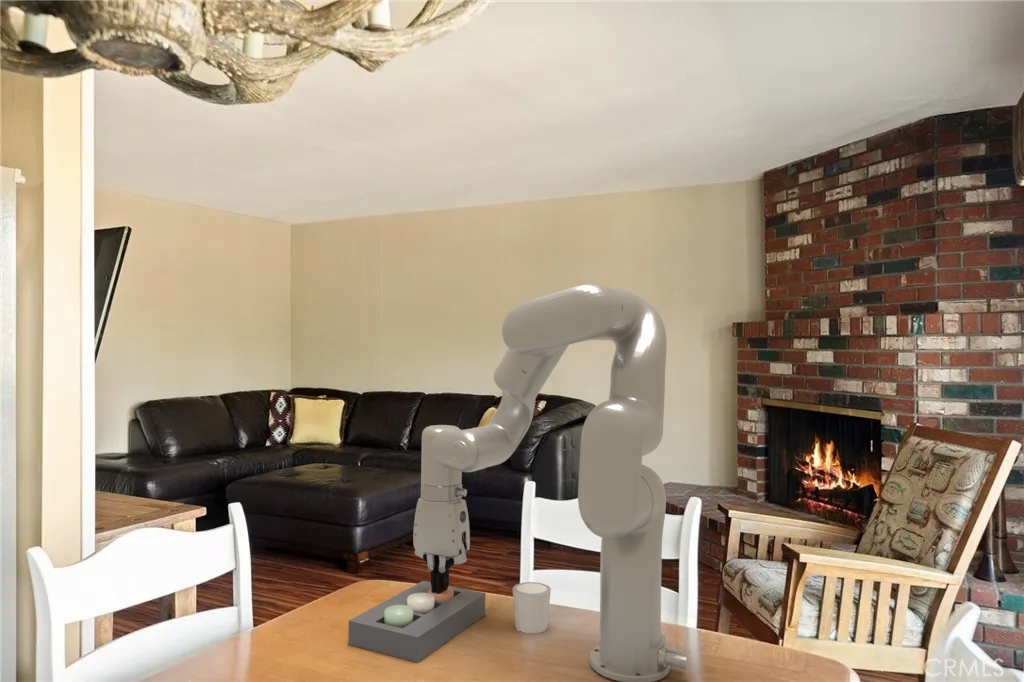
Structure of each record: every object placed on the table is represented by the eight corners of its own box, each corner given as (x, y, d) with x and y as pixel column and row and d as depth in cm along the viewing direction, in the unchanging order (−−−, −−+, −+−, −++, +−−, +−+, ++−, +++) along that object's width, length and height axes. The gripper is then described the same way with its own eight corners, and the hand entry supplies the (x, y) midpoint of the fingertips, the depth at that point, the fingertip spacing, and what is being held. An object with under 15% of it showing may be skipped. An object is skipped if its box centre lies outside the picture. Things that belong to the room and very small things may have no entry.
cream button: (439, 612, 123) (439, 595, 123) (424, 622, 118) (424, 604, 118) (417, 607, 125) (417, 591, 125) (401, 616, 120) (401, 599, 120)
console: (485, 614, 128) (485, 593, 128) (417, 662, 108) (417, 637, 109) (422, 601, 134) (423, 580, 134) (348, 644, 115) (348, 620, 115)
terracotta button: (458, 605, 128) (458, 589, 128) (444, 614, 124) (444, 597, 124) (436, 600, 130) (436, 585, 131) (422, 609, 126) (422, 593, 126)
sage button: (418, 625, 117) (418, 607, 117) (401, 636, 112) (402, 617, 112) (395, 620, 119) (395, 602, 119) (378, 630, 115) (378, 612, 115)
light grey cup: (551, 635, 119) (551, 595, 119) (511, 634, 119) (512, 594, 119) (549, 619, 126) (550, 581, 126) (512, 619, 126) (512, 581, 126)
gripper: (486, 493, 127) (484, 591, 127) (419, 484, 134) (417, 578, 134) (465, 501, 121) (463, 605, 121) (396, 491, 127) (394, 590, 127)
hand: (439, 590), depth 127 cm, fingers closed
